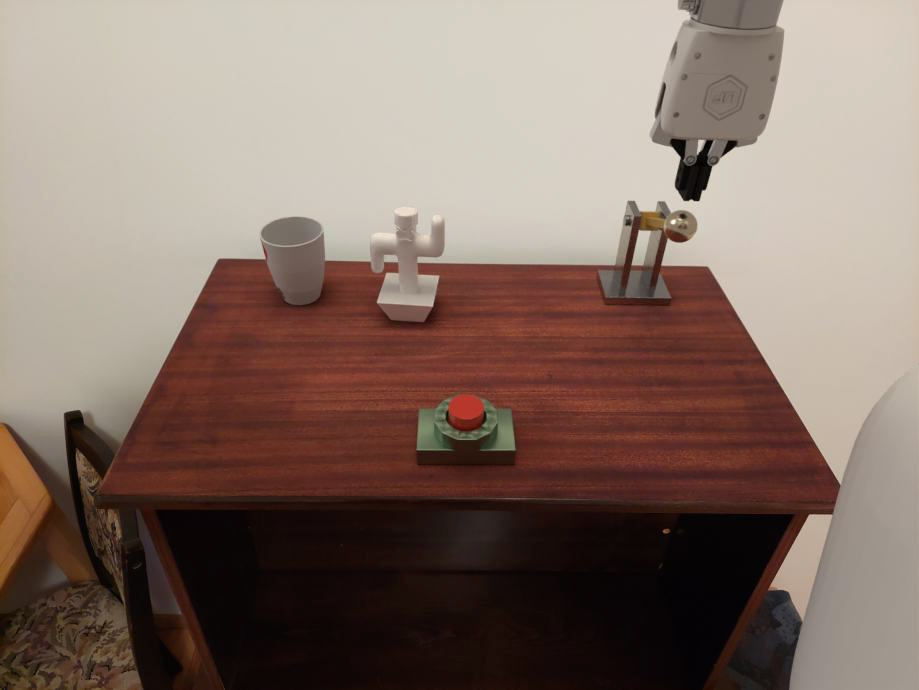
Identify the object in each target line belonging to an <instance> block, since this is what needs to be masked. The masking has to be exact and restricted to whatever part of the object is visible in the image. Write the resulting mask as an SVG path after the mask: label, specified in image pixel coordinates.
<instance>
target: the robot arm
mask: <svg viewBox="0 0 919 690" xmlns="http://www.w3.org/2000/svg"><path fill="white" fill-rule="evenodd" d="M784 1H785V0H677V9H678V11H685V12H686V13H688V15H689V16H690V17H689V19H684V20H683V21H682V23H681V25H680V28H679V30H678V32H677V35H676V37H675V40H674V42H673V45H672V48H671V50H670V53H669V56H668V58H667V62H666V64H665V69H664V72H663V75H662V77H661V78H662V79H661V82H660V86H659V89H658V93H657V98H656V101H655V102H656V103H655V108H654V119H655V120H654V122H653V125H652V127H651V129H650V131H649V133H648V134H649V138H650V140H651V141H652V143H654V144H657V145H661V146H665V147H670V148H672V149H673V150H674V151H675V152H676V155H678V156H679V157H680V158H679V161H678V162H679V163H678V167H677V170H676V174H675V179H674V188H675V190H676V191H677V192H678V194H679V196H680V197H681V199H682V201H683V202H690V201H693V202H700V201H701V198H702V195H703V194H702V193H703V191H706V190H707V188H708V184H709V181H710V177H711V174H712V170H713V168H714V166H716V165H718V164H719V162H720V160H721V159H722V158H723V157H724V156H725V155H727V154H728V153H729V152H731V151H732V150H734V149H735V148H742V147H746V146H752V145H754V144H756V143H757V141H758V137H760V136H761V135H762V134H763V133H764V131H765V130H766V126H767V123H768V121H769V118H770V114H771V110H772V106H773V104H774V103H773V102H774V100H775V95H776V90H777V85H778V81H779V77H780V76H779V75H780V69H781V65H782V64H781V63H782V58H783V51H784V42H785V29H784V28H783V27H781V26H779V25H778V21H779V18H780V16H781V15H780V14H781V11H782V8H783V5H784ZM699 141H702V144H701V146H700V149H699V151H698V147H699ZM804 612H805V613H804V616H803V620H802V622H801V626H800V627H801V628H800V631H799V635H798V638H797V643H796V646H795V651H794V656H793V661H792V665H791V670H790V671H791V672H790V678H789V687H788V690H919V362H918V363H917V364H915V365H913V366H912V367H910V368H909V369H908V370H907V371H906V372H904V373H903V374H902V375H900V377H899V378H897V379H896V380H895V381H894V382H893V383H892V384H891V385H889V387H888V388H887V389H886V391H885V392H884V393H883V394H882V396H881V397H880V398H879V399H878V400H877V402H876V403H874V405H873V406H872V408H871V409H870V411H869V413H868V414H867V416H866V417H865V419H864V421H863V422H862V424H861V427H860V429H859V431H858V433H857V436H856V437H855V440H854V443H853V445H852V448H851V452H850V455H849V457H848V460H847V464H846V466H845V469H844V472H843V476H842V479H841V482H840V487H839V489H838V494H837V497H836V501H835V505H834V507H833V511H832V516H831V519H830V523H829V526H828V530H827V534H826V537H825V541H824V545H823V548H822V552H821V555H820V559H819V562H818V566H817V569H816V574H815V576H814V580H813V584H812V589H811V591H810V595H809V597H808V602H807V605H806V609H805V611H804Z"/></svg>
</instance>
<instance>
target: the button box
mask: <svg viewBox="0 0 919 690" xmlns="http://www.w3.org/2000/svg"><path fill="white" fill-rule="evenodd" d="M459 395H460V394H456V395H453V396H450V397H448V398H446V399H443V400H441V402H440V403H439V404H438V405H437V406H436V408H432V407H431V408H430V407H428V408H427V407H426V408H424V407H423V408H421V407H420V408H418V414H417V430H416V431H417V432H416V433H417V434H416V437H417V438H416V449H415V450H416V465H515V462H516V453H517V447H516V438H515V428H514V418H513V410H512V408H496V407H495V406H494V405H493V404H492V403H491V402H490V401H489V400H488V399H485V398H483V397H480V396H479V395H475V394H472V395H473V396H475V397H477V398H479V399H480V400H481V401H482V402H483V404H484V419H483V423H482V425H481V426H480V427H479V428H477V429H476V430H473V431H460V430H457V429H455V428H454V427H452V426H451V424H450V423H449V419H448V407H449V403H450V401H451V400H452V399H453V398H455V397H457V396H459Z"/></svg>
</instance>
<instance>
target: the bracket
mask: <svg viewBox="0 0 919 690" xmlns="http://www.w3.org/2000/svg"><path fill="white" fill-rule="evenodd" d="M640 211H641V210H640V209H639V207H638V204H637V202H636V200H627V201H626V206H625V211H624V216H623V218H622V222H623V223H622V226H621V233H620V236H619V237H620V239H619V242H618V246H617V247H618V248H617V251H616V252H617V253H616V257H615V258H616V259H615V262H614V268H613V269H611V270H610V269H597V271H596V280H597V283H598V286H599V289H600V293H601V296H602V299H603V303H604V305H632V306H633V305H636V306H638V305H639V306H640V305H642V306H643V305H644V306H647V305H648V306H670V305H671V302H672V296H671V294H670V292H669V289H668V287H667V285H666V283H665V280H664V278H663V276H662V273H661V270H662V269H661V268H662V265H663V259H664V256H665V252H666V247H667V244H668V240H669V239H668V238H667V236H666V235H665V233H664V229H663V228H658V231H650V233H649V237H648V242H647V247H646V251H645V256H644V260H643V265H642V269H641V270H632V265H633V260H634V255H635V251H636V246H637V241H638V237H639V232H640V230H639V228H640V223H641V218H642V215H641V213H640ZM654 212H659V218H661V219H666V218H667V217H668V216H669V215H670V214H671V213H672V212H671V210H670V208H669V206H668V204H667V203H666V201H665V200H657V202H656V207H655V211H654Z"/></svg>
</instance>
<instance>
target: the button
mask: <svg viewBox="0 0 919 690" xmlns="http://www.w3.org/2000/svg"><path fill="white" fill-rule="evenodd" d="M458 395H459V396H457V397H455V398H453V399H452V400H451V401H450V403H449V407H448V419H449V423H450V424H451V426H452V427H454V428H455V429H457V430H460V431H473V430H476V429H477V428H479V427H480V426H481V425H482V423H483V419H484V404H483V402H482V401H481V400H480V399H479V398H477V397H475V396H473V395H474V394H458Z"/></svg>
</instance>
